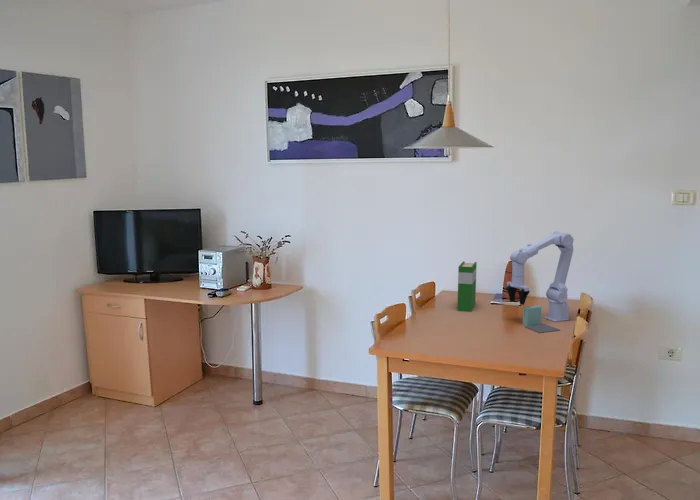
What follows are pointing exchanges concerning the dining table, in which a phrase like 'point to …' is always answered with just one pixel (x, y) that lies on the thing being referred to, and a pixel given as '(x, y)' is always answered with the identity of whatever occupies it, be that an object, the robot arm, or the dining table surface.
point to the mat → (542, 328)
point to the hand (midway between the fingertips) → (517, 302)
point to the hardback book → (466, 286)
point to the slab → (531, 315)
